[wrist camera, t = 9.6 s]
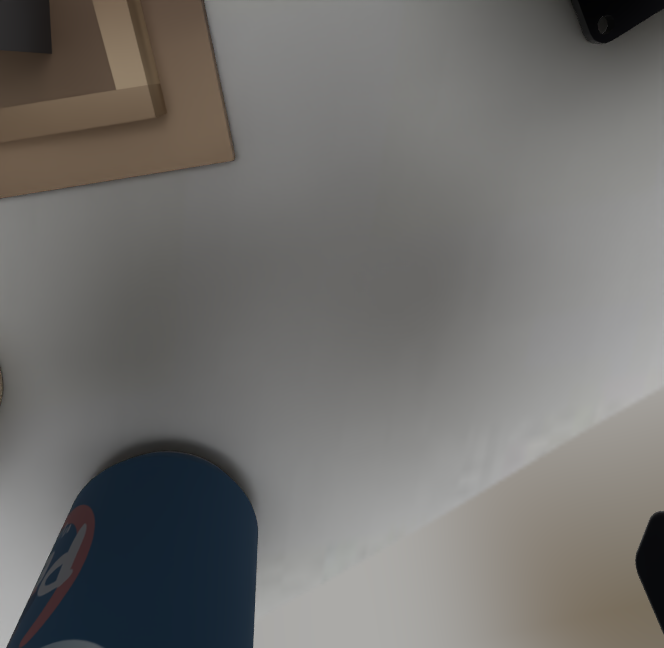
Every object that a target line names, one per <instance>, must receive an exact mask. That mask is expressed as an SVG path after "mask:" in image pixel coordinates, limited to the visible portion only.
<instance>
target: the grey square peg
mask: <svg viewBox="0 0 664 648" xmlns="http://www.w3.org/2000/svg"><path fill="white" fill-rule="evenodd" d="M0 50H4V51H19V52H33V53H47V54H52V41H51V23H50V5H49V0H0Z"/></svg>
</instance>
